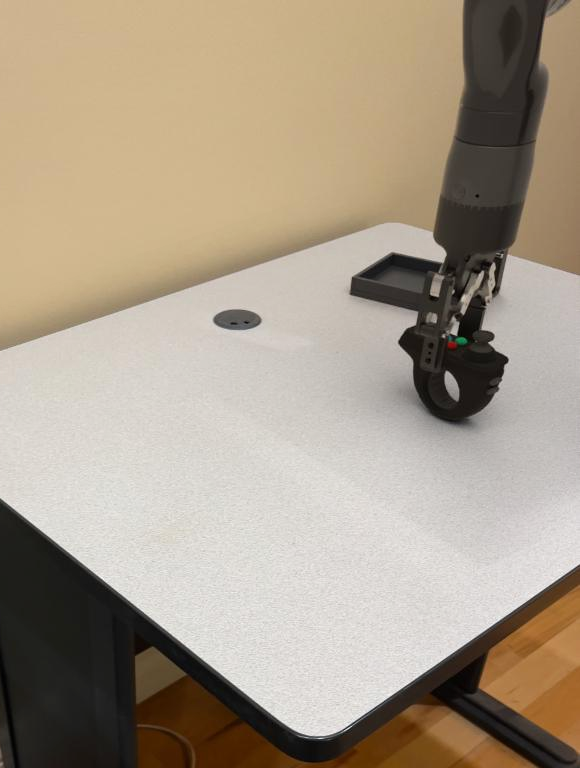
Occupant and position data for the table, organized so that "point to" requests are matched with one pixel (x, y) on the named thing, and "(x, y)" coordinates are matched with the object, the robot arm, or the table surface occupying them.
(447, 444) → the table surface
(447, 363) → the controller
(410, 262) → the dock
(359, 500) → the table surface
